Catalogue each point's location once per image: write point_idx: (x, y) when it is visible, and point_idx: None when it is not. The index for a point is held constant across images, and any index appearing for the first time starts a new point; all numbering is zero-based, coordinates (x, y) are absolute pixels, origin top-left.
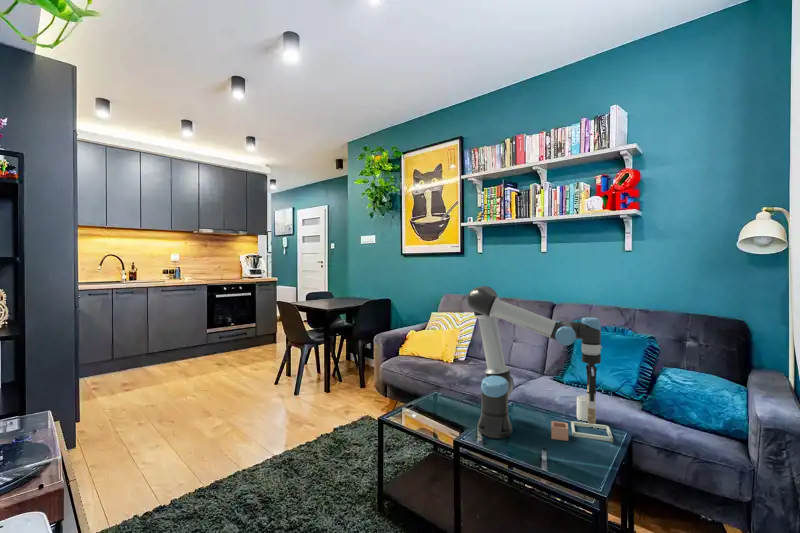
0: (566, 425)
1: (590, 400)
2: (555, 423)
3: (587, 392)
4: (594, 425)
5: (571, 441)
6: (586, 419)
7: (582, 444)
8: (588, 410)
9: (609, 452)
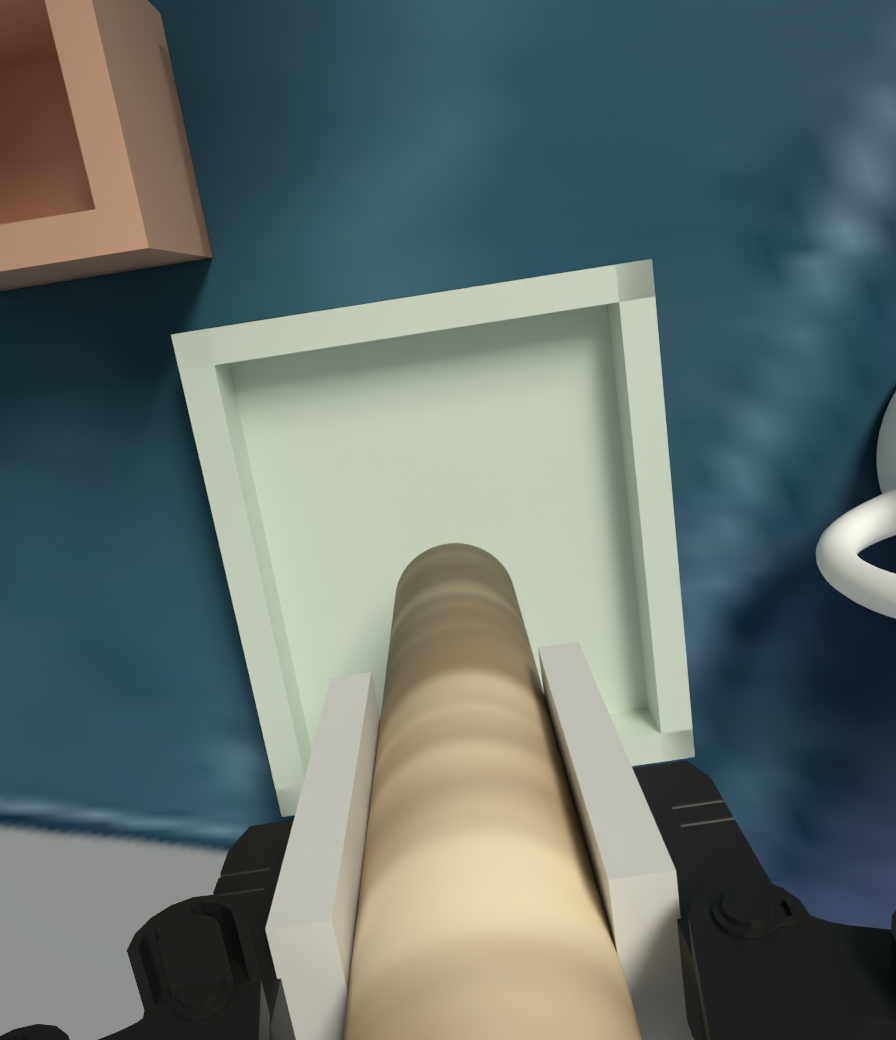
0: (15, 242)
1: (230, 848)
2: (60, 26)
3: (136, 951)
4: (645, 589)
5: (88, 324)
6: (894, 463)
7: (77, 463)
8: (406, 642)
9: (37, 747)
